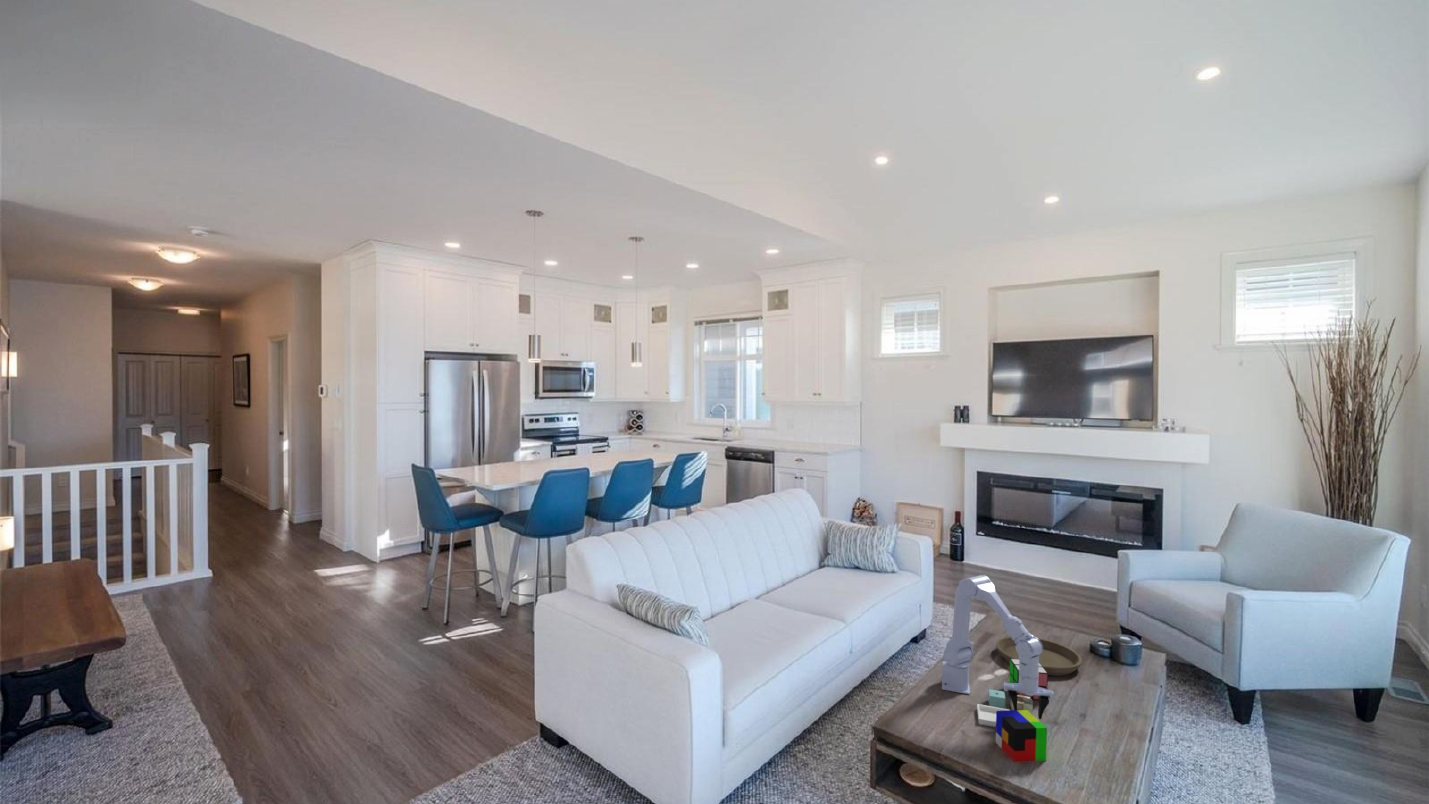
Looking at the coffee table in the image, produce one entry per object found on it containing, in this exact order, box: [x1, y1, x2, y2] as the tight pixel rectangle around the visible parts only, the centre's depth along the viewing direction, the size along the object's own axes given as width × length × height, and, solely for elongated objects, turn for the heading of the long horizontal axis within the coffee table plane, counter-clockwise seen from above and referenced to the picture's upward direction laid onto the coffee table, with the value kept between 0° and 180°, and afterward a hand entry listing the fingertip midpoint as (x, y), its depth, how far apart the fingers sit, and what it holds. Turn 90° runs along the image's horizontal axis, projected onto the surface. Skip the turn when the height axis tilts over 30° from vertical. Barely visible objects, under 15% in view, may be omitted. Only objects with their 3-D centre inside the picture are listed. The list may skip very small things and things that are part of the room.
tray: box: [976, 703, 1010, 728], centre depth 202 cm, size 10×10×2 cm
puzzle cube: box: [1008, 659, 1049, 701], centre depth 220 cm, size 10×10×10 cm
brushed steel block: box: [1023, 698, 1034, 716], centre depth 199 cm, size 3×3×8 cm
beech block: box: [1010, 695, 1030, 710], centre depth 208 cm, size 6×6×4 cm
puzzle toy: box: [995, 709, 1048, 763], centre depth 184 cm, size 10×10×10 cm
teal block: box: [987, 688, 1006, 709], centre depth 212 cm, size 5×5×4 cm
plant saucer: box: [995, 636, 1083, 676], centre depth 247 cm, size 31×31×5 cm
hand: (1027, 715), depth 199 cm, fingers open, 6 cm apart
